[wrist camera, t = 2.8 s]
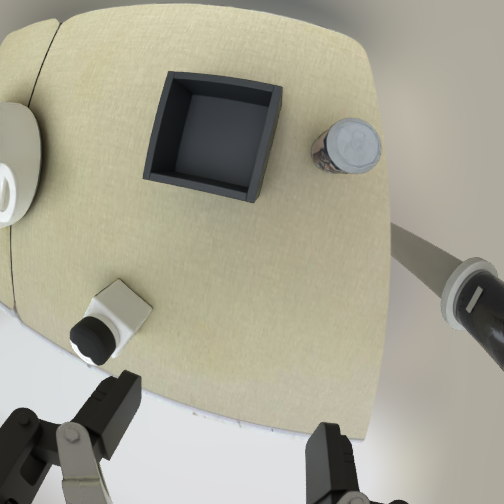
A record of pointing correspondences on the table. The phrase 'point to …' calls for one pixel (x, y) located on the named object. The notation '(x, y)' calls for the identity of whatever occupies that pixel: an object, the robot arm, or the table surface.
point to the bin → (213, 134)
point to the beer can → (347, 147)
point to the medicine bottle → (109, 323)
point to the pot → (18, 161)
